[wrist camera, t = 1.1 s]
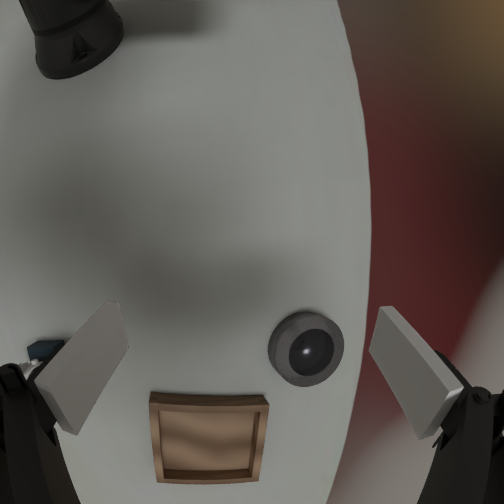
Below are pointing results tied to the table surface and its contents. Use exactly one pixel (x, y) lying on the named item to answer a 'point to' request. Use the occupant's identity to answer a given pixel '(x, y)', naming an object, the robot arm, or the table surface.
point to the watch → (38, 355)
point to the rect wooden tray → (207, 437)
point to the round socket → (306, 348)
